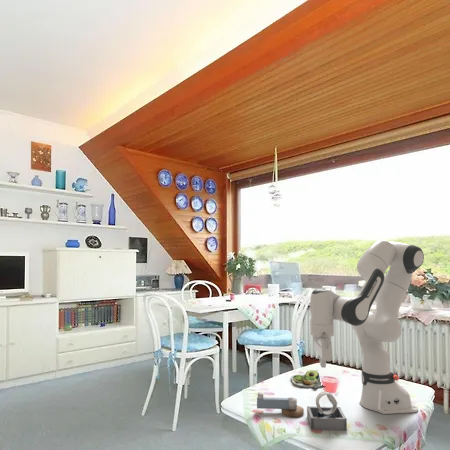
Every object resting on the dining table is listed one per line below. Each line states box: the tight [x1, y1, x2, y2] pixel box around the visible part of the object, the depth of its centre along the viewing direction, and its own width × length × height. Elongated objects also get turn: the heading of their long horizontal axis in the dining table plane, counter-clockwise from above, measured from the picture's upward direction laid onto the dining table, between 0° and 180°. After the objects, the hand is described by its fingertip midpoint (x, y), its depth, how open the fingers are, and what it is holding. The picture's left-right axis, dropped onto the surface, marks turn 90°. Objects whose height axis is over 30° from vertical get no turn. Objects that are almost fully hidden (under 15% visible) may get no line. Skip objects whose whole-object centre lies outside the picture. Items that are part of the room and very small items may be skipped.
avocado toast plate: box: [290, 369, 322, 389], centre depth 193 cm, size 19×18×5 cm
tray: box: [306, 405, 348, 431], centre depth 148 cm, size 13×11×4 cm
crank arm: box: [256, 391, 298, 410], centre depth 159 cm, size 16×4×6 cm, turn 85°
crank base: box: [280, 405, 305, 418], centre depth 158 cm, size 9×9×2 cm
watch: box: [315, 391, 338, 418], centre depth 147 cm, size 6×8×11 cm
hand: (322, 366), depth 149 cm, fingers closed
